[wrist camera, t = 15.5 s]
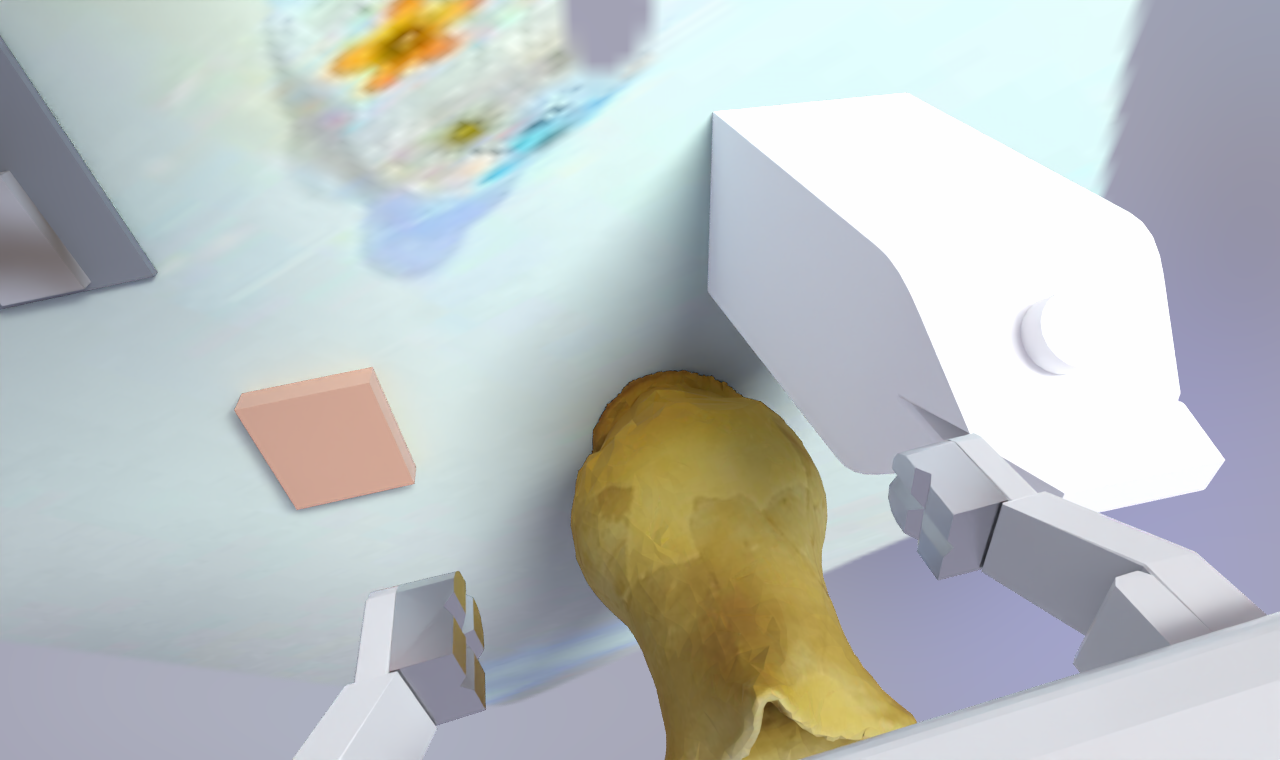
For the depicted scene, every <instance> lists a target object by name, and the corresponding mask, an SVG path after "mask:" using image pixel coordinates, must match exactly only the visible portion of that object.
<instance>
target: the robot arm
mask: <svg viewBox="0 0 1280 760" xmlns="http://www.w3.org/2000/svg"><path fill="white" fill-rule="evenodd" d="M892 469H893V471H894V472H895V473H896V474H897V477H896V478H895V479H894V480H893V481H892V482H891V484H890V485H889V494H888V499H889V503H890V507H891V512H892V514H893V516H894V518H895V520H896V522H897V523H898V525H899V526H900V528H901V529H902V531H903V532H904V533H905V534H907V535H909V536H911V537H913V538H915V539H917V540H918V548H917V552H918V554H919V555H920V556H921V558H922V559H923V561H924V562H925V563H926V565H927V566H928V568H929V569H930V570H931V572H932V573H933V574H934V576H935V577H936V579H937V580H941V579H946V578H949V577H953V576H957V575H961V574H965V573H969V572H973V571H977V570H981V569H982V572H983V573H985V574H986V575H988V576H989V577H991V578H993V579H995V580H996V581H997V582H999V583H1001V584H1002V585H1004V586H1006V587H1007V588H1009V589H1010V590H1012V591H1014V592H1015V593H1017V594H1018V595H1020V596H1022V597H1023V598H1025V599H1027V600H1028V601H1030V602H1032V603H1033V604H1035V605H1036V606H1038V607H1040V608H1041V609H1043V610H1044V611H1046V612H1048V613H1049V614H1051V615H1053V616H1054V617H1056V618H1058V619H1059V620H1061V621H1062V622H1064V623H1065V624H1067V625H1069V626H1070V627H1072V628H1074V629H1075V630H1077V631H1079V632H1080V633H1082V634H1083V635H1085V638H1084V640H1083V642H1082V644H1081V645H1080V647H1079V649H1078V651H1077V653H1076V655H1075V659H1074V663H1073V664H1074V666H1075V667H1076V668H1077V669H1078V671H1079V672H1080V673H1079V674H1076V675H1073V676H1069V677H1066V678H1063V679H1059V680H1056V681H1053V682H1049V683H1046V684H1043V685H1040V686H1036V687H1033V688H1030V689H1027V690H1024V691H1020V692H1017V693H1014V694H1011V695H1007V696H1004V697H1001V698H997V699H994V700H991V701H988V702H984V703H981V704H978V705H975V706H971V707H968V708H965V709H962V710H958V711H955V712H952V713H949V714H945V715H942V716H939V717H936V718H933V719H929V720H926V721H922V722H919V723H916V724H913V725H909V726H906V727H903V728H900V729H896V730H893V731H890V732H887V733H883V734H880V735H877V736H874V737H870V738H867V739H864V740H861V741H857V742H854V743H851V744H848V745H844V746H841V747H838V748H835V749H831V750H828V751H825V752H822V753H818V754H815V755H812V756H809V757H805V758H802V759H799V760H1280V612H1277V613H1274V614H1271V615H1266V614H1265V613H1264V612H1263V611H1262V610H1261V609H1260V608H1258V607H1257V606H1256V605H1255V604H1254V603H1253V602H1252V601H1250V600H1249V599H1248V598H1247V597H1246V596H1245V595H1243V593H1241V592H1240V591H1239V590H1238V589H1237V588H1236V587H1234V586H1233V585H1232V584H1231V583H1230V582H1229V581H1228V580H1227V579H1226V578H1224V577H1223V576H1222V575H1221V574H1220V573H1219V572H1218V571H1216V570H1215V569H1214V568H1213V567H1212V566H1211V565H1210V564H1209V563H1207V562H1206V561H1205V560H1204V559H1203V558H1202V557H1201V556H1199V555H1198V554H1197V553H1196V552H1194V551H1192V550H1189V549H1187V548H1184V547H1182V546H1179V545H1177V544H1174V543H1172V542H1169V541H1167V540H1165V539H1162V538H1160V537H1157V536H1155V535H1152V534H1149V533H1147V532H1145V531H1142V530H1140V529H1137V528H1135V527H1132V526H1130V525H1127V524H1125V523H1122V522H1120V521H1117V520H1115V519H1112V518H1110V517H1108V516H1105V515H1103V514H1100V513H1098V512H1095V511H1093V510H1090V509H1088V508H1085V507H1083V506H1080V505H1078V504H1075V503H1073V502H1070V501H1068V500H1065V499H1063V498H1060V497H1058V496H1055V495H1053V494H1051V493H1048V492H1046V491H1044V492H1040V493H1037V492H1036V491H1035V490H1034V489H1033V488H1032V487H1031V486H1030V485H1029V484H1028V483H1027V482H1026V481H1025V480H1024V479H1023V478H1022V477H1021V476H1020V475H1019V474H1018V473H1017V472H1016V471H1015V470H1014V469H1013V468H1012V467H1011V466H1010V465H1009V464H1008V463H1007V462H1006V461H1005V460H1004V459H1003V458H1002V457H1001V456H1000V455H999V454H998V453H997V452H996V451H995V450H994V449H993V448H992V447H991V446H990V445H989V444H988V443H987V442H986V441H985V440H984V439H983V438H982V437H981V436H980V435H977V434H975V433H971V434H968V435H964V436H960V437H956V438H953V439H949V440H947V441H946V440H943V441H940V442H936V443H932V444H929V445H925V446H922V447H918V448H915V449H911V450H907V451H904V452H900V453H897V455H896V456H895V457H894V458H893V464H892ZM483 650H484V637H483V629H482V623H481V617H480V614H479V610H478V607H477V605H476V603H475V600H474V598H473V597H471V596H469V595H466V583H465V580H464V579H463V577H462V575H461V573H460V572H459V571H456V572H452V573H448V574H443V575H439V576H435V577H431V578H427V579H422V580H418V581H414V582H410V583H406V584H401V585H398V586H394V587H390V588H386V589H382V590H378V591H374V592H370V594H369V596H368V598H367V600H366V602H365V608H364V615H363V622H362V629H361V636H360V643H359V650H358V658H357V665H356V672H355V679H354V683H351V684H348V685H345V686H344V688H343V689H342V690H341V692H340V693H339V695H338V696H337V697H336V699H335V700H334V702H333V703H332V704H331V706H330V707H329V709H328V710H327V712H326V713H325V714H324V716H323V717H322V719H321V720H320V721H319V723H318V724H317V725H316V727H315V728H314V730H313V731H312V733H311V734H310V735H309V737H308V738H307V739H306V741H305V742H304V744H303V745H302V746H301V748H300V749H299V751H298V752H297V754H296V755H295V756H294V758H293V759H292V760H422V759H423V757H424V755H425V753H426V751H427V749H428V747H429V745H430V743H431V741H432V738H433V736H434V734H435V732H436V730H437V727H436V725H440V724H443V723H446V722H449V721H452V720H456V719H459V718H462V717H465V716H468V715H471V714H474V713H478V712H481V711H484V710H486V703H485V673H484V671H483V669H482V667H481V665H480V663H479V661H478V659H479V657H480V655H481V654H482V652H483Z"/></svg>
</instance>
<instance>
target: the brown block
mask: <svg viewBox="0 0 1280 760" xmlns="http://www.w3.org/2000/svg"><path fill="white" fill-rule="evenodd" d="M90 283H91V281H90V279H89V278H88V277H87V275H86V274H85V273H84V271H83V270H82V269H81V267H80V266H79V264H78V263H77V262H76V260H75V259H74V258H73V256H72V255H71V254H70V252H69V251H68V250H67V248H66V247H65V245H64V244H63V243H62V241H61V240H60V239H59V237H58V236H57V235H56V233H55V232H54V230H53V229H52V228H51V226H50V225H49V224H48V222H47V221H46V220H45V218H44V217H43V216H42V214H41V213H40V211H39V210H38V209H37V207H36V206H35V205H34V203H33V202H32V201H31V199H30V198H29V197H28V195H27V194H26V192H25V191H24V190H23V188H22V187H21V186H20V184H19V183H18V182H17V180H16V179H15V178H14V176H13V175H12V173H11V172H10V171H4V172H0V304H1V305H2V306H5V305H10V304H15V303H20V302H24V301H29V300H34V299H39V298H43V297H48V296H53V295H58V294H63V293H67V292H72V291H77V290H82V289H85V288H86V287H87V286H88V285H89V284H90Z"/></svg>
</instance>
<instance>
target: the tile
mask: <svg viewBox="0 0 1280 760" xmlns="http://www.w3.org/2000/svg"><path fill="white" fill-rule="evenodd" d="M234 411H235V412H236V414H237V415H238V417H239V419H240V420H241V422H242V423H243V425H244V427H245V428H246V430H247V431H248V433H249V435H250V436H251V438H252V439H253V441H254V443H255V444H256V446H257V447H258V449H259V450H260V452H261V454H262V455H263V457H264V458H265V460H266V462H267V463H268V465H269V466H270V468H271V470H272V471H273V473H274V474H275V476H276V478H277V479H278V481H279V482H280V484H281V486H282V487H283V489H284V490H285V492H286V494H287V495H288V497H289V498H290V500H291V502H292V503H293V505H294V506H295V508H296V509H297V510H299V509H304V508H308V507H313V506H317V505H322V504H326V503H331V502H335V501H340V500H344V499H349V498H353V497H358V496H362V495H367V494H371V493H376V492H380V491H385V490H389V489H394V488H398V487H403V486H407V485H412V484H415V473H416V466H415V463H414V461H413V459H412V456H411V454H410V452H409V450H408V447H407V445H406V443H405V440H404V438H403V436H402V434H401V431H400V429H399V427H398V424H397V422H396V420H395V417H394V415H393V413H392V411H391V408H390V406H389V404H388V401H387V399H386V397H385V395H384V392H383V390H382V388H381V385H380V383H379V381H378V378H377V376H376V374H375V372H374V369H373V367H370V368H365V369H360V370H355V371H350V372H345V373H340V374H335V375H330V376H326V377H321V378H316V379H311V380H306V381H301V382H296V383H291V384H286V385H281V386H276V387H272V388H267V389H262V390H257V391H252V392H247V393H242V394H241V396H240V399H239V401H238V403H237V405H236V407H235V410H234Z"/></svg>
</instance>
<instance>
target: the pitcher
mask: <svg viewBox="0 0 1280 760" xmlns="http://www.w3.org/2000/svg"><path fill="white" fill-rule="evenodd" d="M605 408H606V410H605V411H604V412H603V414H602V415H601V417H600V419H599V423H597V425H596V426H595V428H594V429H593V434H594V435H593V451H592V454H591V455H589V456H588V457H587V459H586V461H585V462H584V464H583V467H582V468H581V469H580V470H579V471H578V475H577V479H576V487H575V496H574V500H573V507H572V510H571V530H572V535H573V540H574V546H575V551H576V559H577V561H578V564H579V566H580V568H581V570H582V573H583V575H584V577H585V579H586V581H587V583H588V584H589V586H590V587H591V589H592V590H593V592H594V593H595V594H596V595H597V597H598V598H599V599H600V600H601V601H602V602H603V604H604V605H605V606H606V607H607V608H608V609H609V610H610V611H611V612H612V613H613V614H614V615H615V616H617V617H618V618H619V619H620V620H621V621H622V622H623V623H624V624H625V625H627V626H628V628H629V629H630V631H631V632H632V633H633V635H634V637H635V638H636V640H637V642H638V644H639V646H640V648H641V650H642V651H643V654H644V657H645V660H646V662H647V665H648V668H649V670H650V672H651V675H652V678H653V680H654V683H655V686H656V689H657V694H658V698H659V703H660V707H661V712H662V717H663V721H664V725H665V730H666V756H665V760H799V759H802V758H805V757H809V756H812V755H815V754H818V753H822V752H825V751H828V750H831V749H835V748H838V747H841V746H844V745H848V744H851V743H854V742H857V741H861V740H864V739H867V738H870V737H874V736H877V735H880V734H883V733H887V732H890V731H893V730H896V729H900V728H903V727H906V726H909V725H913V724H916V723H917V722H916V720H915V718H914V717H913V715H912V714H911V713H910V712H908V711H907V710H906V709H905V708H903V707H902V706H901V705H899V704H898V703H897V702H896V701H895V700H893V699H892V698H891V697H890V696H889V695H888V694H886V693H885V692H884V691H883V690H882V689H881V687H880V686H879V685H878V684H877V682H876V681H875V680H874V679H873V677H872V676H871V675H870V674H869V673H868V671H867V670H866V669H865V668H863V666H862V664H861V663H860V661H859V659H858V657H857V656H855V655H854V653H853V651H852V649H851V647H850V645H849V643H848V641H847V639H846V637H845V635H844V632H843V630H842V628H841V625H840V623H839V620H838V617H837V614H836V612H835V609H834V606H833V604H832V601H831V599H830V597H829V595H828V592H827V588H826V585H825V582H824V578H823V573H822V547H823V543H824V539H825V531H826V523H827V503H826V494H825V491H824V487H823V484H822V480H821V477H820V475H819V472H818V470H817V468H816V466H815V464H814V463H813V461H812V459H811V457H810V455H809V454H808V452H807V450H806V449H805V447H804V446H803V443H802V441H801V440H800V439H799V437H798V436H797V435H796V434H795V432H794V431H793V430H792V429H791V428H790V427H789V426H788V425H787V424H786V423H785V421H784V420H783V419H782V418H781V417H780V416H779V415H778V414H776V413H775V412H774V411H772V410H771V409H770V408H768V407H767V406H766V405H765V404H763V403H762V402H761V401H757V400H753V399H749V398H745V397H743V396H742V395H740V394H739V393H736V391H735V390H733V389H732V387H729V386H728V384H727V383H726V382H724V381H723V382H722V383H721V382H720V381H718V380H715V378H714V377H713V376H707V377H706V376H705V375H703V376H700V375H698V373H691V372H688V371H686V370H682V371H679V372H678V371H675V370H674V371H665V372H662V371H661V372H657V373H655V374H653V375H652V374H651V375H646V376H644V377H643V378H638V379H636V380H633V381H632V382H629V384H628V385H627V386H626V387H624V388H623V390H622V392H621V394H618V396H617V397H616V398H615V399H614V400H612V402H611V403H609V404H607V407H605Z"/></svg>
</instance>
